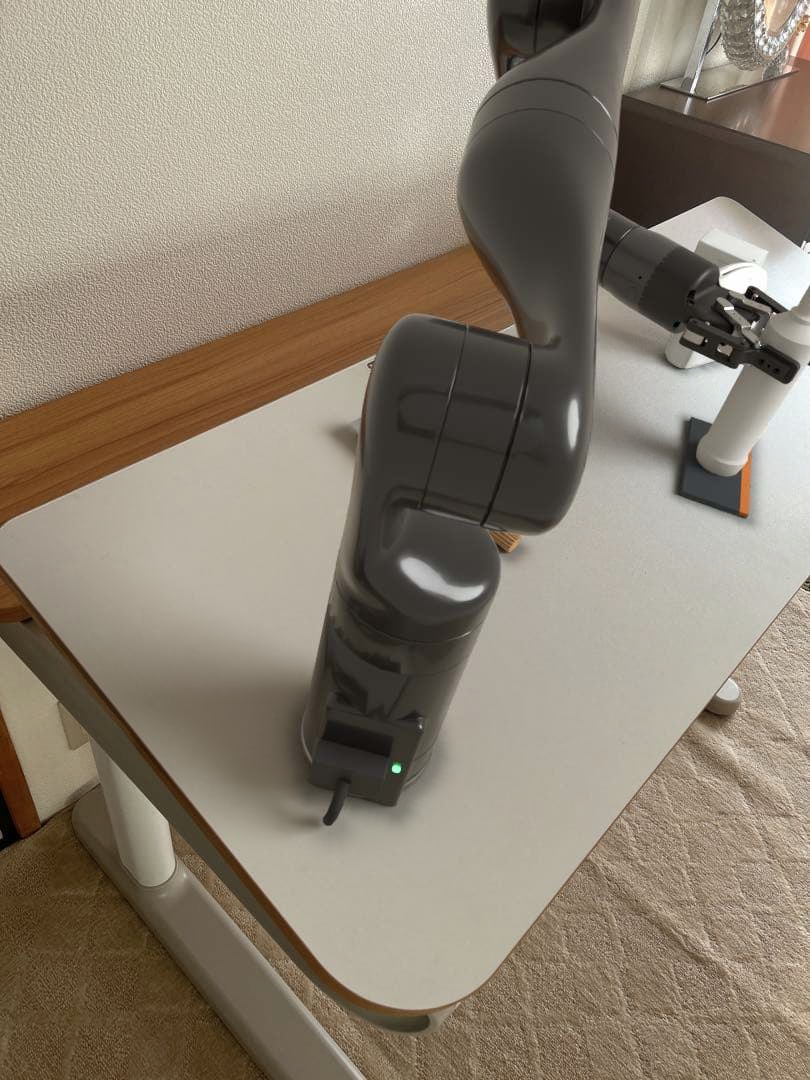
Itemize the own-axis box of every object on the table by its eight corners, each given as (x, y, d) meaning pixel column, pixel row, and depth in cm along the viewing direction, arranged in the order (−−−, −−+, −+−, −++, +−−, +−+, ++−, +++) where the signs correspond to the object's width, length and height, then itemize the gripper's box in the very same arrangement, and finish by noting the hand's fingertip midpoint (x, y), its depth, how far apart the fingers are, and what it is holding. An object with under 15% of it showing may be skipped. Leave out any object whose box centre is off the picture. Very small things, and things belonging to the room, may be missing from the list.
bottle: (708, 479, 92) (840, 260, 74) (685, 446, 95) (805, 229, 77) (749, 477, 93) (887, 262, 76) (724, 444, 97) (851, 232, 79)
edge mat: (746, 518, 89) (749, 514, 89) (679, 495, 90) (682, 490, 89) (749, 441, 99) (752, 437, 99) (689, 420, 100) (691, 416, 99)
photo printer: (708, 338, 114) (753, 250, 105) (734, 357, 112) (781, 268, 103) (657, 354, 108) (700, 263, 100) (682, 374, 106) (728, 282, 98)
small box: (733, 323, 118) (771, 251, 111) (721, 339, 114) (760, 265, 107) (678, 298, 120) (712, 225, 113) (665, 313, 116) (699, 239, 109)
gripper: (636, 262, 83) (796, 355, 76) (708, 230, 91) (857, 311, 85) (608, 330, 88) (755, 423, 81) (678, 294, 97) (817, 375, 90)
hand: (806, 365), depth 83 cm, fingers closed on bottle, 5 cm apart
